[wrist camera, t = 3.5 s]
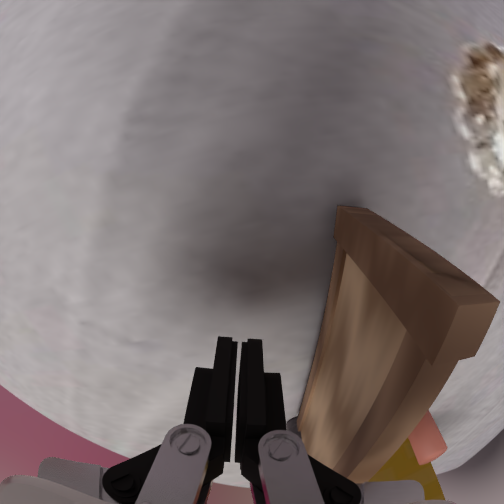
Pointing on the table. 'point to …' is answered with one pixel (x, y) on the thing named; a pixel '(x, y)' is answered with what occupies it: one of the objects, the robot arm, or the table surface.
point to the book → (410, 471)
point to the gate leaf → (385, 343)
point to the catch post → (427, 440)
